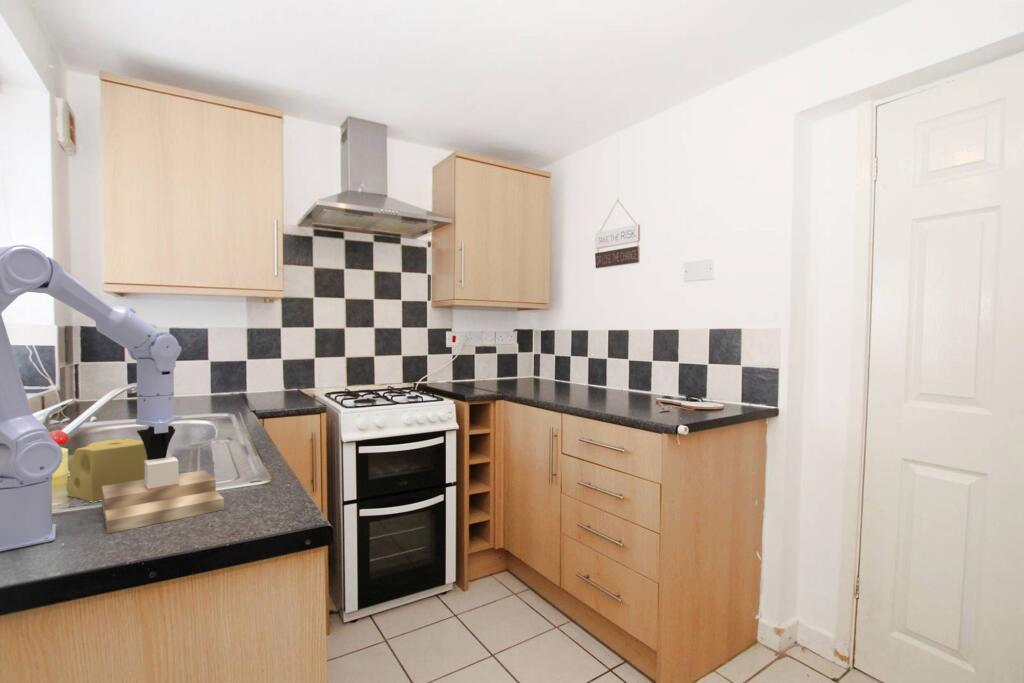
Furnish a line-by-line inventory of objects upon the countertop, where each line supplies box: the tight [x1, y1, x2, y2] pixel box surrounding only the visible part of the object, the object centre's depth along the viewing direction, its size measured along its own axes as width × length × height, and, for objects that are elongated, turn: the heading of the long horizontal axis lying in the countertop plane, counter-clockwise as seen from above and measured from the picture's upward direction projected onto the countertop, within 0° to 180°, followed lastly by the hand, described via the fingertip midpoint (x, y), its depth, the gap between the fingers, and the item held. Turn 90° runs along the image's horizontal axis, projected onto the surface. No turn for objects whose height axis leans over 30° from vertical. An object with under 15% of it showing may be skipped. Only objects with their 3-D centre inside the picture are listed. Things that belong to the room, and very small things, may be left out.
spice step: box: [101, 469, 225, 534], centre depth 88 cm, size 16×16×4 cm
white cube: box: [145, 456, 180, 491], centre depth 89 cm, size 4×4×4 cm
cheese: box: [66, 437, 148, 503], centre depth 99 cm, size 10×11×10 cm
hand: (156, 466), depth 94 cm, fingers closed
